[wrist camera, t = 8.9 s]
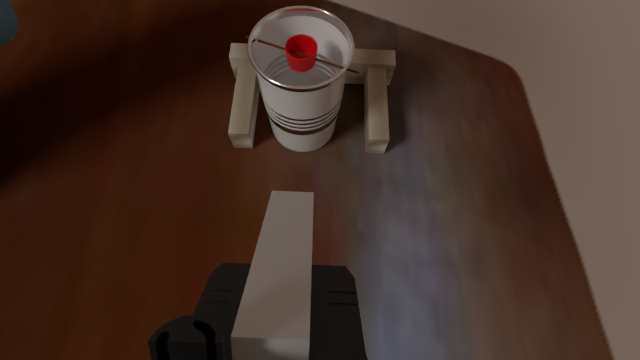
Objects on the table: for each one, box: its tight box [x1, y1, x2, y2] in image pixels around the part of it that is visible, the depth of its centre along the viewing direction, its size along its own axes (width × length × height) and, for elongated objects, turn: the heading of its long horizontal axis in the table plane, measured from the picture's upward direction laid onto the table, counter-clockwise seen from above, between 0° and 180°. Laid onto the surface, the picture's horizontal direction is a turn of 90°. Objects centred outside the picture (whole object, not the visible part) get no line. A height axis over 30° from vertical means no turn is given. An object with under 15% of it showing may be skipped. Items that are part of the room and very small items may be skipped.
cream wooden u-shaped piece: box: [228, 43, 396, 154], centre depth 38 cm, size 18×11×4 cm, turn 88°
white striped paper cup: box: [246, 6, 359, 152], centre depth 33 cm, size 10×8×12 cm
